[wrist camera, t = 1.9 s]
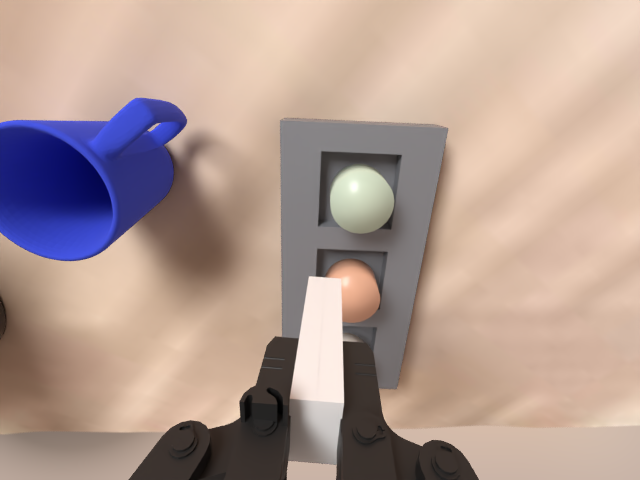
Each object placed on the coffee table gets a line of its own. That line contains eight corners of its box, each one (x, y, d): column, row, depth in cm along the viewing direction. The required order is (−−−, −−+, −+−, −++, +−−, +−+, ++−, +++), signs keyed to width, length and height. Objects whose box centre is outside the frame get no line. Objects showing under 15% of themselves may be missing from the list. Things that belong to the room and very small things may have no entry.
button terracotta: (323, 300, 29) (323, 321, 26) (326, 257, 27) (326, 275, 24) (371, 302, 29) (376, 323, 26) (377, 259, 27) (383, 277, 24)
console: (285, 362, 36) (282, 384, 33) (285, 117, 25) (280, 120, 23) (391, 367, 36) (396, 389, 33) (435, 124, 25) (448, 127, 23)
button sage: (328, 217, 26) (328, 232, 23) (331, 162, 24) (332, 171, 21) (382, 220, 26) (389, 235, 23) (390, 165, 24) (398, 174, 21)
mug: (240, 147, 26) (195, 174, 17) (143, 226, 29) (62, 284, 20) (166, 55, 24) (67, 29, 15) (68, 153, 27) (-65, 182, 18)
